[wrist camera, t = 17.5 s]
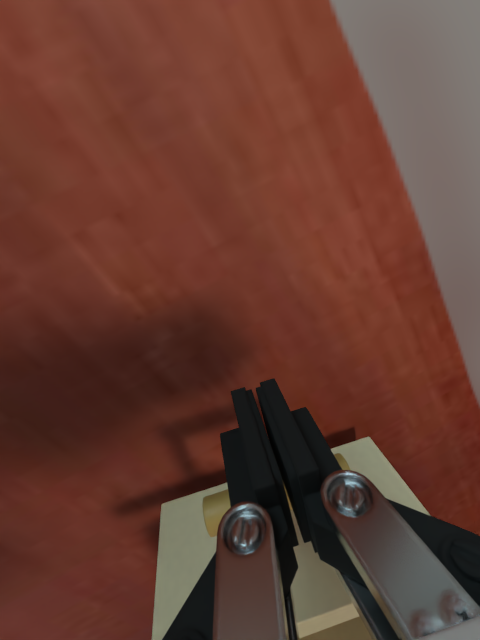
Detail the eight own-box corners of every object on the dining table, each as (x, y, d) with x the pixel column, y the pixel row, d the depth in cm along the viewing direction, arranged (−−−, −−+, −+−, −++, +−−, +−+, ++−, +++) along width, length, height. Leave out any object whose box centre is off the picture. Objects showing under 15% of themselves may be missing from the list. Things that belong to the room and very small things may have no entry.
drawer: (132, 448, 15) (96, 622, 9) (365, 376, 16) (480, 488, 10) (219, 614, 22) (233, 772, 16) (376, 558, 23) (445, 688, 17)
